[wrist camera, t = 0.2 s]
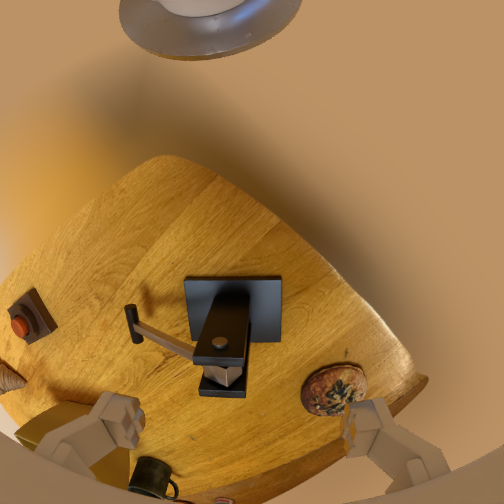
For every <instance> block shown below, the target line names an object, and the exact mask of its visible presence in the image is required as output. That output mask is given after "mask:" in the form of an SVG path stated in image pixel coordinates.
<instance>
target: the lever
mask: <svg viewBox="0 0 504 504" xmlns="http://www.w3.org/2000/svg"><path fill="white" fill-rule="evenodd" d="M124 309H125V314H126V318H127V322H128V327H129V331H130V335H131V338H132V342H133V343H134V344H140V343H142V342H143V341H144V338H143V336H145V337H146V338H148V339H150V340H152V341H154V342H156V343H158V344H159V345H161V346H163V347H165V348H167V349H169V350H171V351H173V352H175V353H177V354H179V355H181V356H183V357H185V358H187V359H189V360H191V361H193V358H192V355H193V353H194V350H195V347H193V346H191V345H189V344H186V343H184V342H182V341H180V340H178V339H176V338H173V337H171V336H169V335H167V334H165V333H163V332H161V331H159V330H157V329H155V328H153V327H151V326H149V325H147V324H145V323H143V322H141V321H139V316H138V312H137V307H136V305H135V304H128V305H126V306H125V307H124ZM202 366H203V365H202ZM203 370H204V376H205V377H207V378H209V379H211V380H213V381H215V382H217V383H220V384H222V385H224V386H226V387H228V386H229V385H231V384H232V383H233V382H234V381H235V380H236V379H237V378H238V377H239V376H240V375H241V374H242V367H225V366H203Z"/></svg>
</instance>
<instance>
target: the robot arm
mask: <svg viewBox="0 0 504 504" xmlns="http://www.w3.org/2000/svg"><path fill="white" fill-rule="evenodd" d="M151 1H156V2H159V3H160V4H161V5H162V6H163V7H164V8H165V9H167V10H168V11H170V12H172V13H174V14H177V15H180V16H186V17H202V16H210V15H214V14H218V13H222V12H225V11H227V10H230V9H232V8H234V7H236V6H238V5H239V4H241V3H243V2H244V1H245V0H151ZM139 406H140V401H139V399H138V398H136V397H131V396H126V395H122V394H118V393H113V392H108V391H105V392H103V393H102V395H101V396H100V398H99V399H98V401H97V402H96V404H95V405H94V407H93V408H92V410H91V412H90V413H89V415H86V414H85V415H83V416H81V417H79V418H77V419H75V420H73V421H71V422H69V423H67V424H65V425H63V426H61V427H59V428H57V429H55V430H53V431H50V432H48V433H46V434H45V436H44V437H43V439H42V440H41V442H40V443H39V445H38V446H37V448H36V449H35V451H34V452H33V451H31V450H29V449H27V448H26V447H24V446H22V445H20V444H19V443H17V442H16V441H14V440H12V439H11V438H9V437H8V436H6V435H5V434H3V433H1V432H0V504H183V503H177V502H172V501H166V500H162V499H157V498H153V497H148V496H144V495H141V494H137V493H133V492H130V491H126V490H123V489H119V488H116V487H113V486H110V485H107V484H104V483H101V482H99V481H96V480H95V479H96V477H95V475H94V474H93V473H92V471H91V470H90V469H89V467H90V466H92V465H93V464H95V463H96V462H97V461H99V460H100V459H101V458H103V457H104V456H106V455H107V454H108V453H110V452H111V451H112V450H114V449H115V448H116V447H117V446H120V447H124V448H128V449H133V450H135V448H136V446H137V443H138V441H139V439H140V438H139V436H138V434H139V433H140V432H142V431H143V429H144V427H145V420H146V419H145V414H144V411H143V410H142V409H141V408H139ZM344 412H345V414H344V415H343V416H342V417H341V421H340V431H341V436H342V438H343V439H344V440H346V441H345V443H344V449H345V453H346V457H347V458H351V457H359V456H365V455H367V456H368V458H370V459H371V460H372V461H373V462H374V463H375V464H376V465H377V466H378V467H380V468H381V469H382V470H383V471H384V472H385V473H386V474H387V475H389V476H390V477H391V478H392V479H393V480H394V481H393V482H392V483H391V485H390V486H389V488H388V489H387V490H386V491H385V494H386V495H382V496H378V497H374V498H369V499H365V500H360V501H355V502H350V503H344V504H504V445H502V446H500V447H499V448H497V449H495V450H494V451H492V452H490V453H488V454H486V455H485V456H483V457H481V458H479V459H477V460H475V461H473V462H471V463H469V464H467V465H465V466H463V467H461V468H458V469H456V470H454V471H452V472H451V470H450V468H449V466H448V464H447V462H446V460H445V458H444V456H443V453H442V452H441V449H439V448H437V447H435V446H433V445H432V444H430V443H428V442H427V441H425V440H423V439H422V438H420V437H418V436H417V435H415V434H413V433H412V432H410V431H408V430H407V429H405V428H403V427H402V426H400V425H396V424H395V422H394V420H393V418H392V415H391V413H390V411H389V409H388V406H387V404H386V402H385V400H384V398H382V397H381V398H375V399H369V400H362V401H356V402H348V403H346V404H345V406H344Z"/></svg>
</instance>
